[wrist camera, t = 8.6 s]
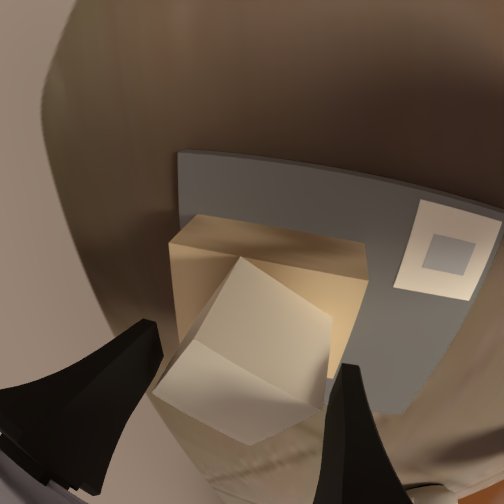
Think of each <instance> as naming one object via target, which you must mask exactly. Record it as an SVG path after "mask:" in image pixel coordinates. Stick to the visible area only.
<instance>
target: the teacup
mask: <svg viewBox="0 0 504 504" xmlns="http://www.w3.org/2000/svg"><path fill="white" fill-rule="evenodd" d="M406 492H407V494H408V496H409V497H410V499H411V501H412V502H413V504H458V503H457V497H456V495H455V493H454V492H452V491H450V490H448V489H447V488H446V487H445V486H441V485H433V486H424V487H419V488H413V489H410V490H407V491H406Z"/></svg>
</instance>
